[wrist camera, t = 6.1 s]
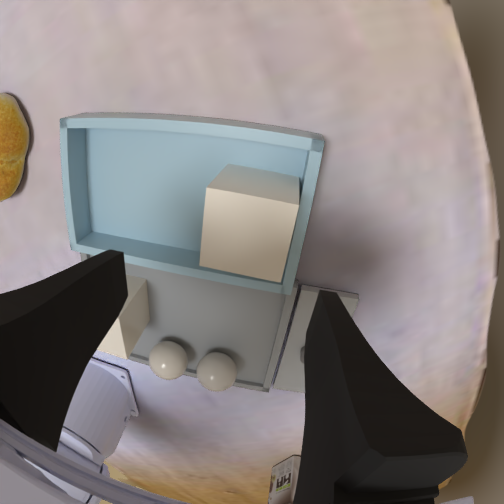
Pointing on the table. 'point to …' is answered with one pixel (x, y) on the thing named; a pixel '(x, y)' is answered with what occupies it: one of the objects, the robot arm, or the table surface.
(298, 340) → the slate tray
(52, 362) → the robot arm
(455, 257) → the table surface
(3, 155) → the bread roll
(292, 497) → the coffee box
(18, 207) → the table surface
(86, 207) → the blue bin
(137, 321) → the stone block far
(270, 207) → the stone block near
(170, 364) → the pebble
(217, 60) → the table surface
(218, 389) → the pebble
